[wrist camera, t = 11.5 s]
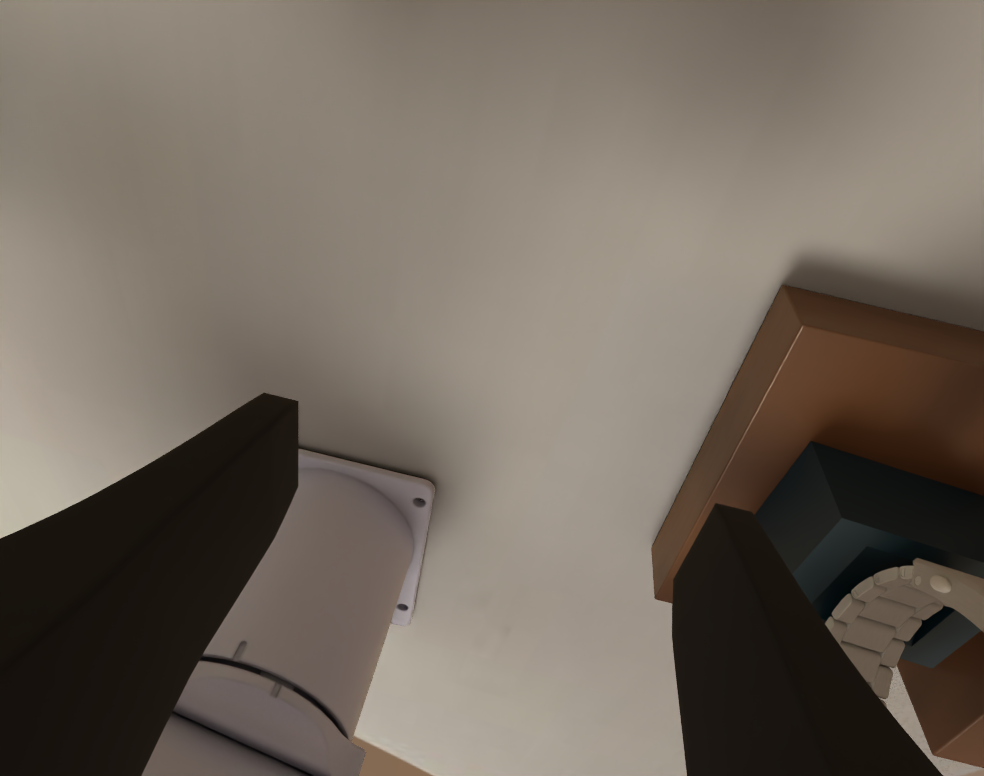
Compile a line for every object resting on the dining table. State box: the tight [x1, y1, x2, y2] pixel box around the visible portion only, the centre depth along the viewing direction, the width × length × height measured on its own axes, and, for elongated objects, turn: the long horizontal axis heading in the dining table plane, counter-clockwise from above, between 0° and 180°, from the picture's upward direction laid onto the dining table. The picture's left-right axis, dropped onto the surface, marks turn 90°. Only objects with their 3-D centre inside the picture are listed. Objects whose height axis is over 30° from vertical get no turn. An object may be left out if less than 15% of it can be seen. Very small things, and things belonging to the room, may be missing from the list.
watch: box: [754, 441, 984, 707], centre depth 16 cm, size 6×8×11 cm
